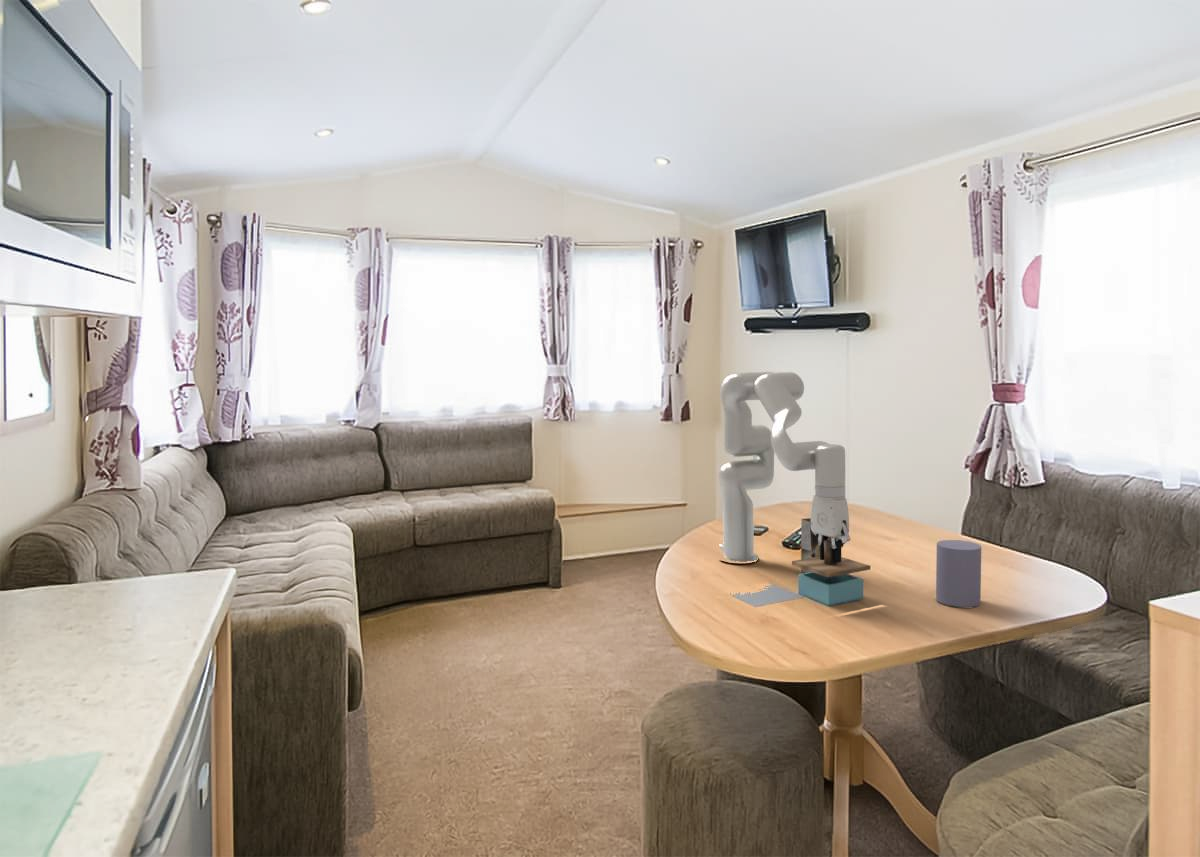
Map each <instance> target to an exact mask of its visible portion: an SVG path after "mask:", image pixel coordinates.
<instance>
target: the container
mask: <svg viewBox="0 0 1200 857" xmlns="http://www.w3.org/2000/svg"><path fill="white" fill-rule="evenodd" d="M935 561H936V566H935V567H936V569H935V572H936V573H935V574H936V575H935V577H936V578H935V582H936V583H935V585H936V586H935V589H936V590H935V599H936V601H937V602H938V603H940V604H942V605H944V604H945V605H944V606H947V605H948V607H951V606H952V608H957V607H973V608H976V607H978V606H980V605H981V597H982V596H981V590H982V589H981V587H982V586H981V584H982V545H981V544H979V543H977V542H974V541H968V540H959V539H958V540H957V539H944V540H940V541H937V542H936V560H935ZM975 606H976V607H975Z"/></svg>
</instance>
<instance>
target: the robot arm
mask: <svg viewBox="0 0 1200 857" xmlns="http://www.w3.org/2000/svg"><path fill="white" fill-rule="evenodd" d="M804 393H805V385H804V380H803V379H802V378H801V376H799V375H798V373H796V372H793V371H787V372H786V371H785V372H783V371H781V372H780V371H761V372H760V371H758V372H755V371H753V372H751V371H750V372H738V373H732V374H728V376H726V377H725V378H724V379H723V381H722V383H721V386H720V398H721V400H720V401H721V403H722V408H723V446H724V451H725V453H726V454H727V455H728V456H730V457H733V458H734V457H736V458H737V457H739V458H743V457H752V459H744V460H743V459H742V460H732V461H729V462H726V463H724V464H723V465H722V466H721V467H720V469H719V472H718V479H719V484H720V489H721V497H722V498H721V499H722V500H721V501H722V543H720V544H719V545H718V547H719V549H722V552H721V553H723V555H724V557H725V558H728V559H729V560H730V561H735V562H736V561H739V562H747V561H754V560H757V559H758V558H759V559H760V556H759V555H758V554H756V553H754V550H755V548H754V546H755V545H754V543H755V542H754V538H755V537H754V534H755V533H754V531H755V530H754V529H755V528H754V526H755V525H754V503H753V501H752V499H751V498H750V496H749V495H748V493H747V491H750V490H752V491H753V490H762V489H766V488H768V487H770V486H771V485H772V484H773V481H774V478H775V477H774V475H775V456H776V457H777V459H778V461H779V462H780V464H781V465H782V466H783V467H784V468H785V469H786V470H788V471H791V472H799V471H806V470H807V471H808V470H812V471H813V470H815V471H814V473H815V474H814V479H815V480H814V481H815V482H814V484H815V486H814V491H815V492H814V493H815V494H814V495H813V498H812V501H811V507H810V508H811V509H810V518H811V530H812V532H813V533H814V534H815V535H816V537H817V539H818V544H819V545H820V560H824V540H829V537H831V540H832V548H830V562H831V563H832V564H834V563H839V562H841V557H842V548H843V547H844V545H845V544H846V543H848V542H850V541H851V537H850V536H851V535H850V534H849V532H850V515H849V506H848V500H847V498H846V449H845V448H844V445H841V444H833V443H832V444H831V443H828V442H826V441H822V440H813V441H801V442H800V441H797V442H793V441H792V439H791V438H790V436H789V435H788V433H787V431H786V430H788V429H789V428H790V427H792V426H794V425H795V424H796V423H797V422H798V421H799V420H800V419H801V416H802V408H801V406H800V405H799V403H798V402H797V401H798V400H799V399H801V398H802V397H803V395H804ZM756 400H757V401H760V403H761V405H762V406H763V408H764V409H765V410H766V413H767V414H768V416H769V417H770V419H771V421H772V423H773V424H772V427H771V429H769V427H768V426H765V425H761V424H757V425H755V424H754V425H753V424H752V423H753V422H752V421H753V418H752V416H753V414H752V411H751V408H750V406H749V405H748V403H747V401H756ZM837 538H838V541H837V542H836V539H837Z"/></svg>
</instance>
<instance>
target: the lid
mask: <svg viewBox="0 0 1200 857" xmlns="http://www.w3.org/2000/svg"><path fill="white" fill-rule="evenodd" d="M836 542H837V541H836ZM830 548H832V540H824V560H820V556H818V557H813V558H807V559H801V558H800V559H796V560H792V561H791V565H792V566H794V567H797V568H800V569H801V568H803V569H805V570H808V571H811V572H814V573H817V574H820V575H823V576H825V577H834V576H839V575H844V574H854V573H855V574H856V573H859V572H865V571H870V570H871V565H869V564H866V563H863V562H861V561H857V560H852V559H850V558H846V557H843V556H841V562H839V563H834V564H832V563H831V562H830Z"/></svg>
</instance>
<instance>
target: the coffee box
mask: <svg viewBox="0 0 1200 857" xmlns="http://www.w3.org/2000/svg"><path fill="white" fill-rule="evenodd" d="M800 533H801V535H800V536H801V537H800V538H801V539H800V540H801V541H800V542H801V548H800V549H801V551H800V555H801V556H800V560H801V559H807V558H813V557H818V556H820V545H819V544H818V539H817V537H816V535H815V534H814V533H813V532H812V530H811V517H809V518H801V532H800ZM829 540H831V537H829ZM836 541H838V538H837V539H836ZM801 570H802V571H803V572H802V571H801ZM800 571H801V572H802V573H804V572H805V573H808V572H811V571H808V570H805V569H803V568H800Z"/></svg>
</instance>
